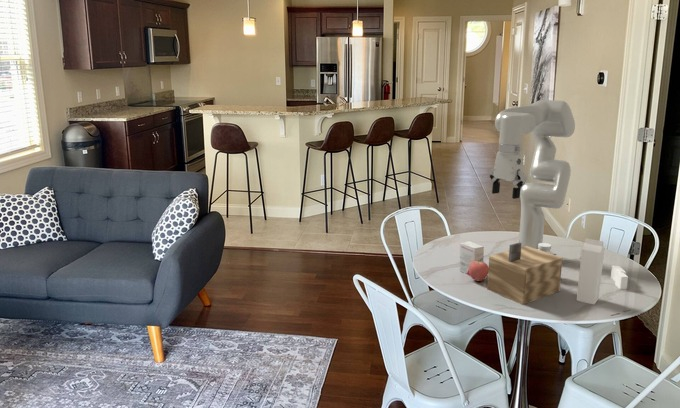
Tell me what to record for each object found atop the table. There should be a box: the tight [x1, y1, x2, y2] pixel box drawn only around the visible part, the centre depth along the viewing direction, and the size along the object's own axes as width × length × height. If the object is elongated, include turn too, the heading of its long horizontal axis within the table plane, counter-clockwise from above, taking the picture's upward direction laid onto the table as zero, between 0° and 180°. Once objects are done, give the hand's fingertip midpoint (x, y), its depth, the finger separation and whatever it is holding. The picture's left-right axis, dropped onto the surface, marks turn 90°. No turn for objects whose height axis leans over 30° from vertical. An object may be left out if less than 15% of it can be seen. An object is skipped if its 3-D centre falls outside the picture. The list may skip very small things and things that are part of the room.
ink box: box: [459, 240, 485, 276], centre depth 223 cm, size 9×5×12 cm, turn 31°
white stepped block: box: [610, 265, 629, 290], centre depth 212 cm, size 15×11×6 cm
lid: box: [488, 241, 563, 272], centre depth 203 cm, size 20×16×7 cm
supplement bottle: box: [538, 242, 554, 255], centre depth 219 cm, size 7×7×13 cm
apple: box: [469, 261, 489, 282], centre depth 216 cm, size 7×7×8 cm
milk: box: [576, 238, 605, 305], centre depth 196 cm, size 6×6×22 cm
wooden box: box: [486, 258, 563, 305], centre depth 206 cm, size 20×16×12 cm
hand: (505, 195), depth 208 cm, fingers open, 9 cm apart
